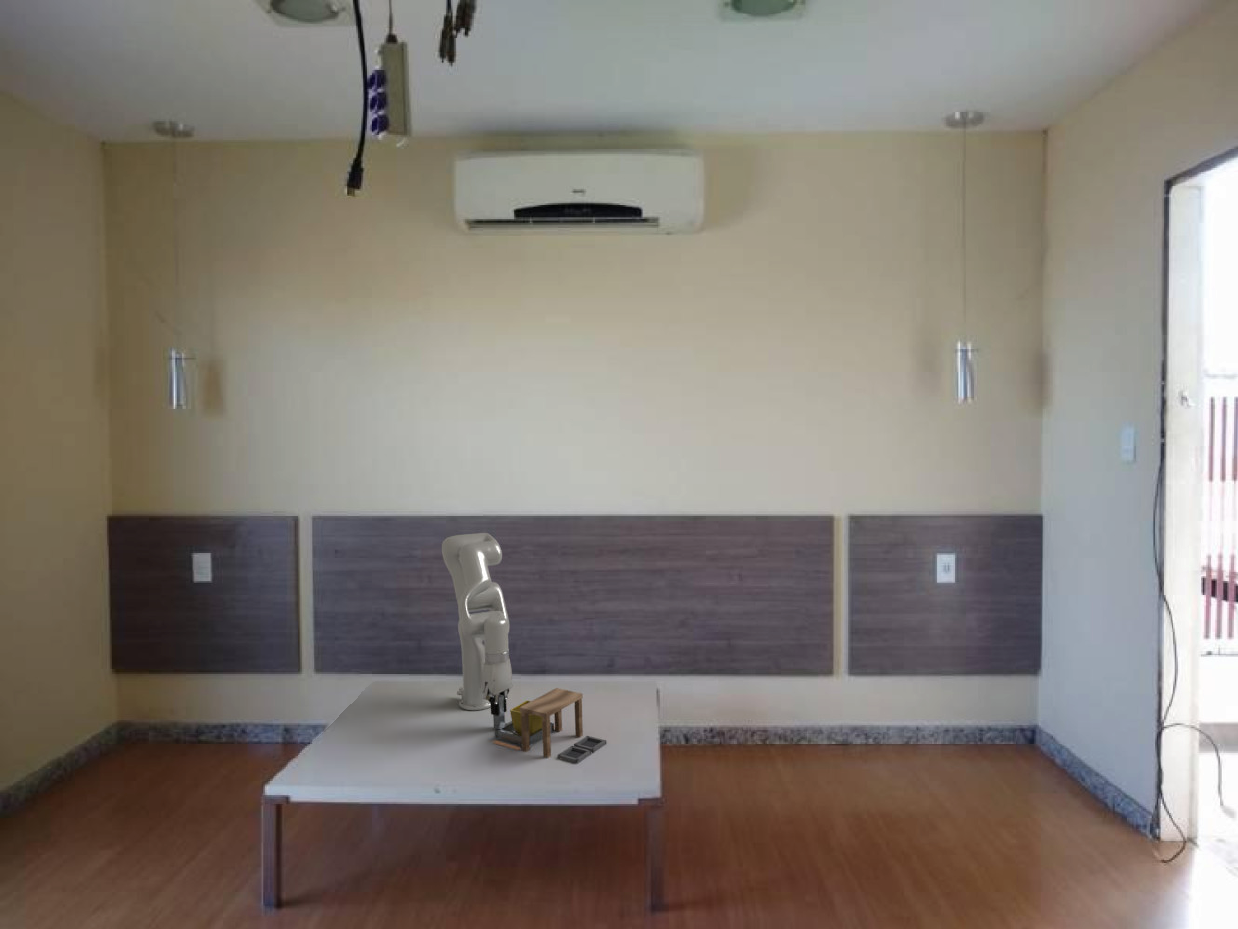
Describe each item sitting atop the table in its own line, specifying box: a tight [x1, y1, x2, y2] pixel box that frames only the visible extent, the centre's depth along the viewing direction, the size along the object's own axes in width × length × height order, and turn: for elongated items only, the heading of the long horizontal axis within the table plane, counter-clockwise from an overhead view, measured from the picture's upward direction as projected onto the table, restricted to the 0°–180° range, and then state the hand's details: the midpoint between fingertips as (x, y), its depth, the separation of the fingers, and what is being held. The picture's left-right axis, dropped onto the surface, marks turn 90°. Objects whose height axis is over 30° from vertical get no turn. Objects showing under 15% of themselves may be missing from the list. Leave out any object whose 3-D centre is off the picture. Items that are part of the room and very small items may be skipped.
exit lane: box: [492, 726, 555, 751], centre depth 235 cm, size 10×18×1 cm, turn 147°
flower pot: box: [509, 700, 542, 735], centre depth 235 cm, size 9×9×9 cm
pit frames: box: [557, 735, 607, 765], centre depth 224 cm, size 7×15×1 cm, turn 147°
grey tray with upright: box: [492, 693, 555, 746], centre depth 236 cm, size 18×13×10 cm
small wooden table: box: [520, 687, 584, 758], centre depth 229 cm, size 10×18×13 cm, turn 147°
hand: (498, 712), depth 241 cm, fingers closed on grey tray with upright, 2 cm apart
